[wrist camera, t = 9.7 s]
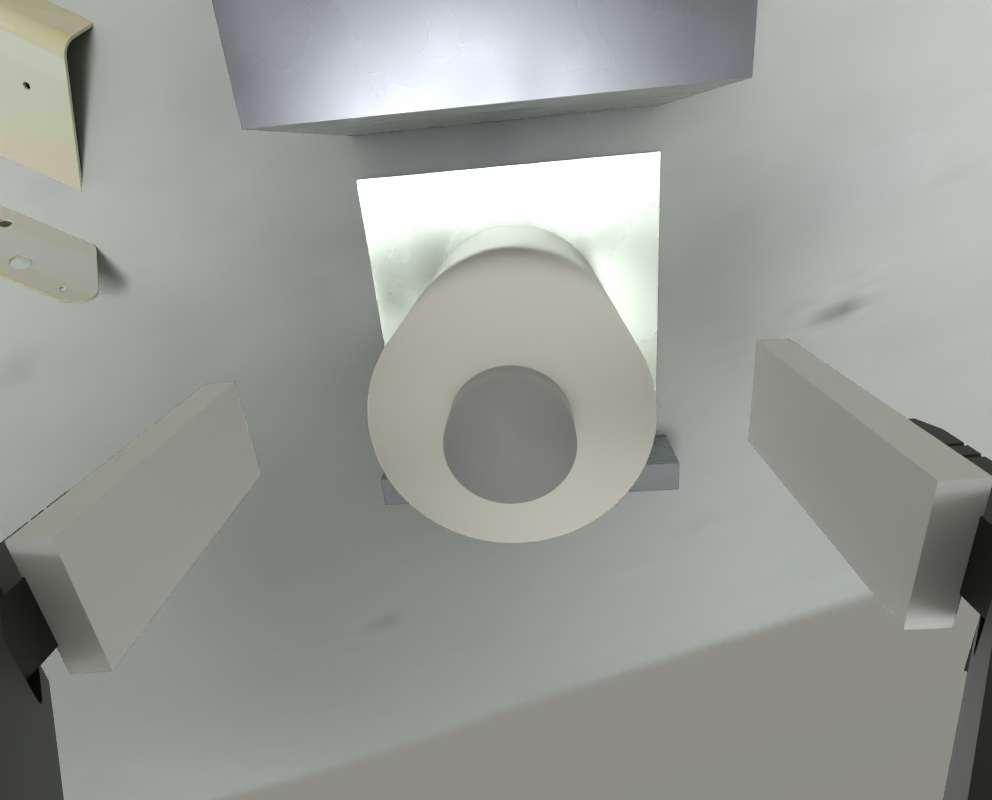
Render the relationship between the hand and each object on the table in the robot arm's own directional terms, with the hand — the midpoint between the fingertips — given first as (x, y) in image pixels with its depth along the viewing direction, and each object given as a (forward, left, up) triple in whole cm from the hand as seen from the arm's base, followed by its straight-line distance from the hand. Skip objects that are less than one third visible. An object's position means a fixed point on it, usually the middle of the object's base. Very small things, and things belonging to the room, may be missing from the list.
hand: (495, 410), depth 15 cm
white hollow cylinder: (0, 0, -9) cm, 9 cm away
